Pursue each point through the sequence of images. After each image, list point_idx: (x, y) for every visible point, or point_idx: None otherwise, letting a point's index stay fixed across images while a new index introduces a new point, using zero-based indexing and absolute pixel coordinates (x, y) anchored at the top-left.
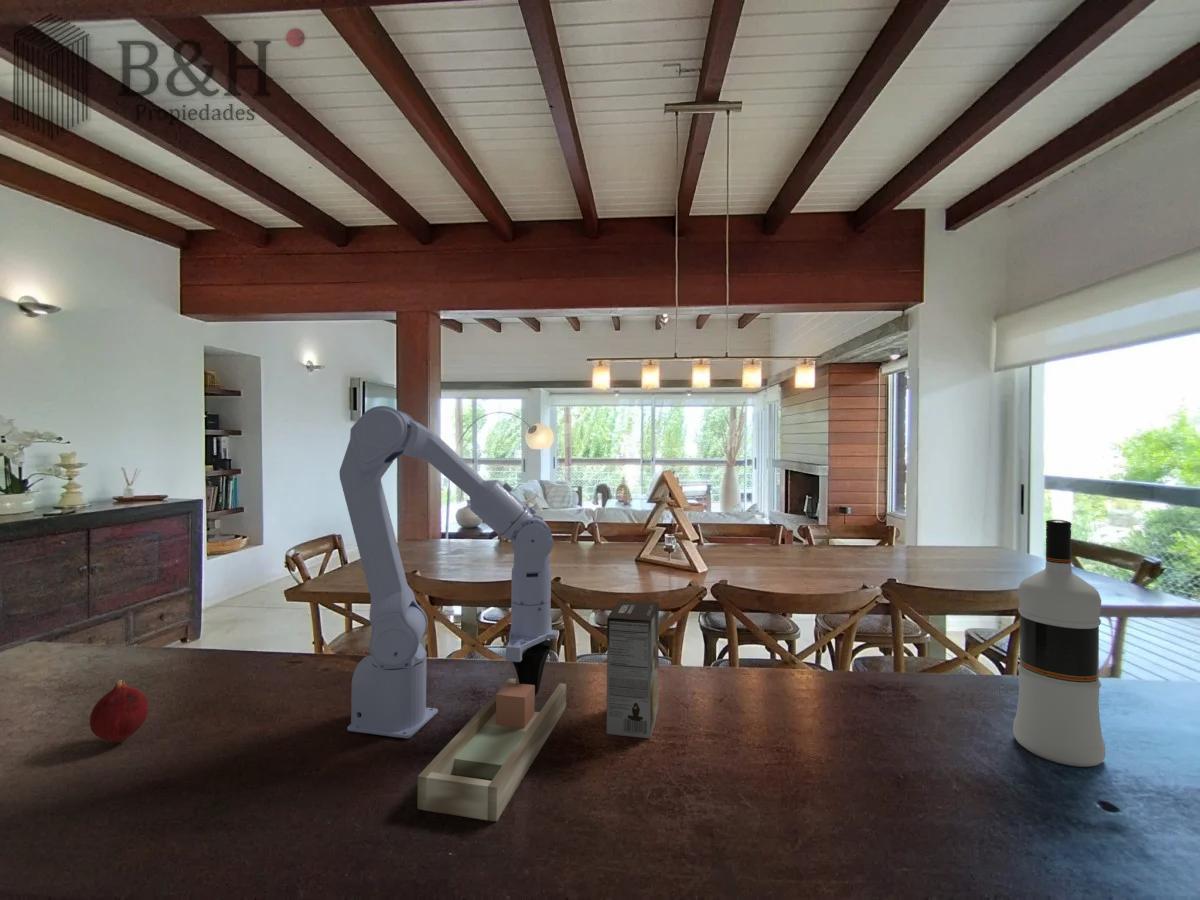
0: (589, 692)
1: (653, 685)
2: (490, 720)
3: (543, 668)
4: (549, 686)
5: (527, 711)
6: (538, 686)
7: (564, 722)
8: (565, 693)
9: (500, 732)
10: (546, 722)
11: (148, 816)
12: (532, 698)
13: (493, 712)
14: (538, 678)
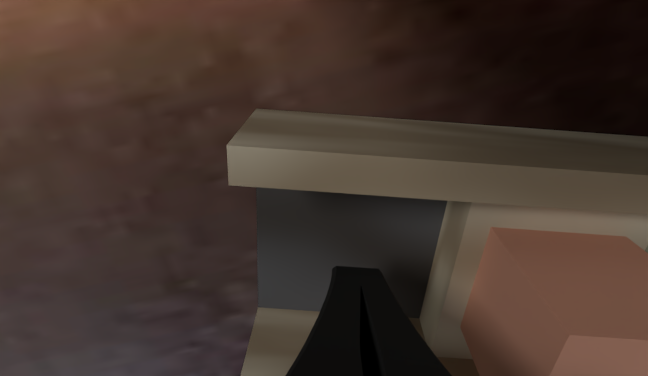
0: (49, 16)
1: None
2: None
3: (309, 346)
4: (78, 220)
5: (632, 270)
6: (366, 287)
7: (404, 85)
8: (252, 130)
9: None
10: (612, 156)
11: None
12: (571, 288)
13: None
14: (404, 329)
